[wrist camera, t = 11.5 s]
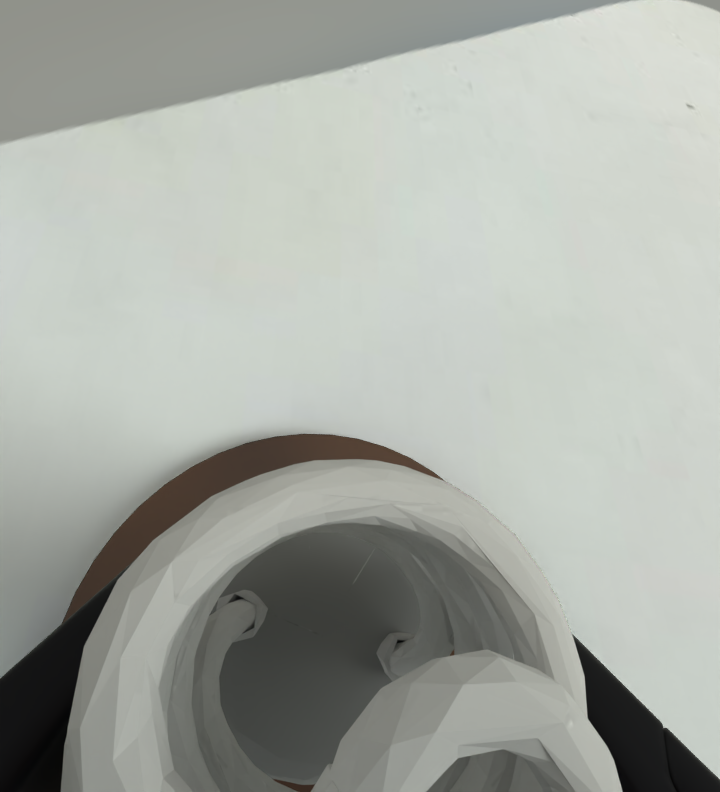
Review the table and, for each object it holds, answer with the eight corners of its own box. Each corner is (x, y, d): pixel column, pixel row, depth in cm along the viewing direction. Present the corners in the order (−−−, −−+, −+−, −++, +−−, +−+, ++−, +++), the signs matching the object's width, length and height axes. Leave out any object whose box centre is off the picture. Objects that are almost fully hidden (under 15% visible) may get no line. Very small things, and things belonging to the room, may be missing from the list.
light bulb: (201, 699, 13) (-390, 1673, 2) (238, 501, 15) (62, 368, 4) (391, 713, 14) (864, 1537, 2) (405, 521, 15) (706, 459, 4)
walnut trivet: (152, 1152, 11) (144, 1186, 10) (-12, 556, 14) (-25, 557, 13) (620, 779, 15) (633, 789, 14) (406, 376, 18) (409, 370, 17)
